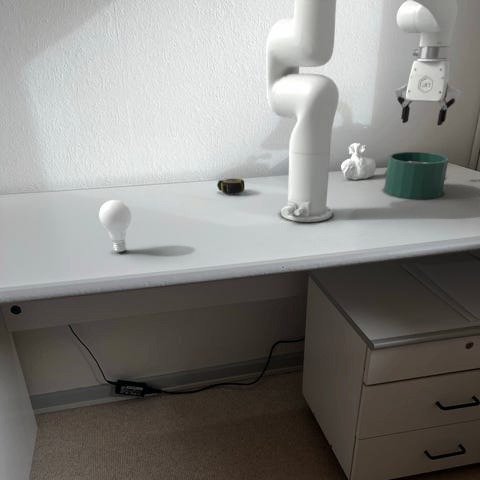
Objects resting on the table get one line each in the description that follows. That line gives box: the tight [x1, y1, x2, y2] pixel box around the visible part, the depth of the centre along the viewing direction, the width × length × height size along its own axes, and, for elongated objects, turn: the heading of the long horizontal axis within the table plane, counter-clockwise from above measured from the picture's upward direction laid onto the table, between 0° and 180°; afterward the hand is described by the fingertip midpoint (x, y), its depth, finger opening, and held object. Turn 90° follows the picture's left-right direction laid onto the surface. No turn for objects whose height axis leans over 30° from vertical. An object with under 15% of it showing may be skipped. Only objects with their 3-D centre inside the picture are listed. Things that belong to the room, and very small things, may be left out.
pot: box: [384, 151, 450, 200], centre depth 139 cm, size 16×16×10 cm
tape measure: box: [216, 178, 245, 196], centre depth 142 cm, size 7×7×4 cm
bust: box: [340, 142, 377, 181], centre depth 154 cm, size 12×8×11 cm
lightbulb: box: [98, 199, 132, 254], centre depth 102 cm, size 6×6×11 cm
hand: (422, 123), depth 140 cm, fingers open, 9 cm apart
